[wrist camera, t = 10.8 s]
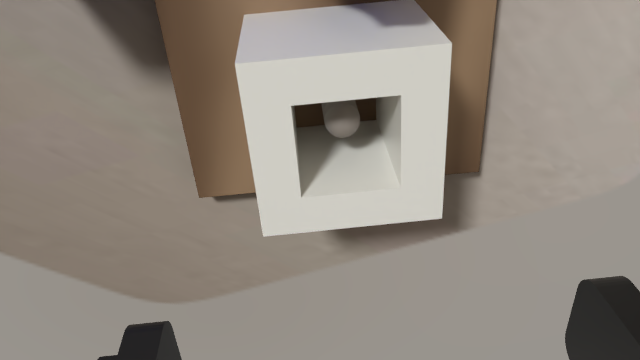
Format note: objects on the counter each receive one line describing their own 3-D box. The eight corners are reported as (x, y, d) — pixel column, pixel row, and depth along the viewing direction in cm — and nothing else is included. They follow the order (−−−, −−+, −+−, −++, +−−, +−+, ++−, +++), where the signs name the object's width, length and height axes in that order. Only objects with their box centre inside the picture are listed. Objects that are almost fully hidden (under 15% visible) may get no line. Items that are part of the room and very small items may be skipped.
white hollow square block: (244, 14, 19) (234, 63, 15) (413, -2, 19) (452, 43, 15) (266, 161, 22) (263, 236, 18) (410, 147, 22) (441, 218, 18)
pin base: (201, 185, 24) (187, 252, 20) (154, -30, 19) (123, 3, 15) (471, 160, 24) (509, 221, 20) (492, -59, 19) (547, -34, 15)
